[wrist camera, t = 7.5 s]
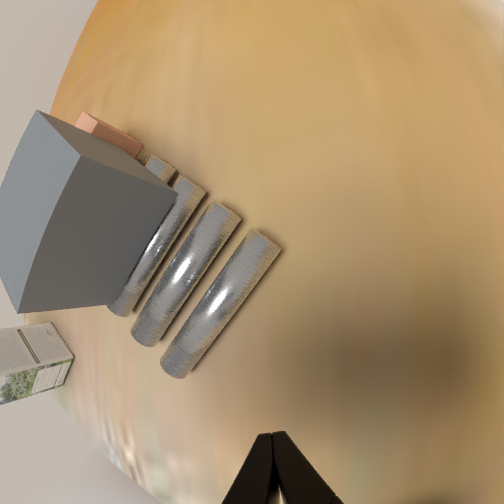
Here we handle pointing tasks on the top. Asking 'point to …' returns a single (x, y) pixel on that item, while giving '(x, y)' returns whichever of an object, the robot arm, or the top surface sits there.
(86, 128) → the block
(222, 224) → the roller track
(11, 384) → the syrup box
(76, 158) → the grey block
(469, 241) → the top surface
